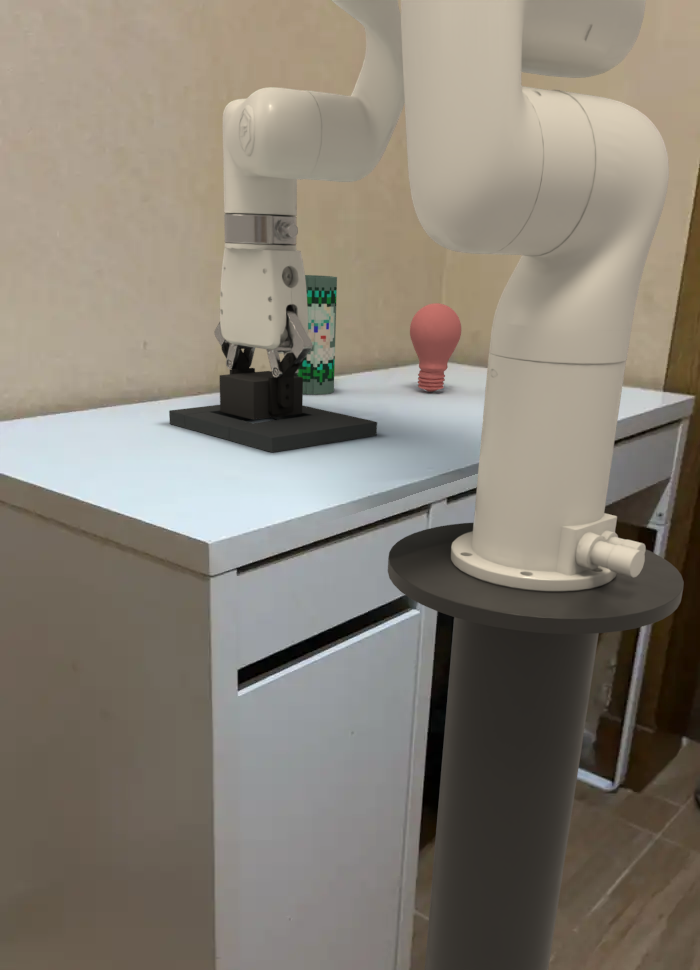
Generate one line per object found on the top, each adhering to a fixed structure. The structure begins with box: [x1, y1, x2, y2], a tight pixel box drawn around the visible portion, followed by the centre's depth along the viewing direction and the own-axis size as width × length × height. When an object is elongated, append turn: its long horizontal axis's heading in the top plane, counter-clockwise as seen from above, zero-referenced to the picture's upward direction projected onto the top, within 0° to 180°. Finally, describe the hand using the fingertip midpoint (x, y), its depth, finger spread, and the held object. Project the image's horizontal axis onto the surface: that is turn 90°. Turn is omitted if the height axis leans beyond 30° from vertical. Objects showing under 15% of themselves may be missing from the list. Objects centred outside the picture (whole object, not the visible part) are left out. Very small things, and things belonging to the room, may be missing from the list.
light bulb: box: [409, 302, 462, 393], centre depth 130 cm, size 7×7×12 cm
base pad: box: [168, 404, 378, 453], centre depth 104 cm, size 18×15×2 cm
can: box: [296, 274, 338, 396], centre depth 127 cm, size 6×6×15 cm
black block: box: [219, 370, 304, 421], centre depth 104 cm, size 6×7×4 cm
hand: (261, 407), depth 104 cm, fingers closed on black block, 6 cm apart
